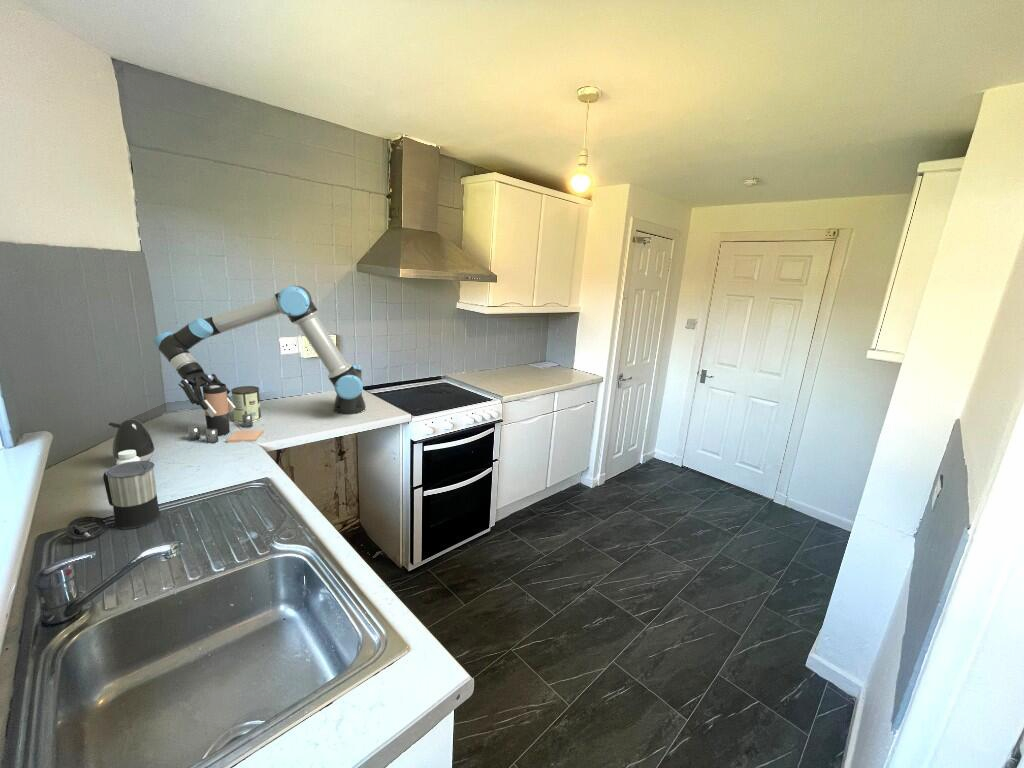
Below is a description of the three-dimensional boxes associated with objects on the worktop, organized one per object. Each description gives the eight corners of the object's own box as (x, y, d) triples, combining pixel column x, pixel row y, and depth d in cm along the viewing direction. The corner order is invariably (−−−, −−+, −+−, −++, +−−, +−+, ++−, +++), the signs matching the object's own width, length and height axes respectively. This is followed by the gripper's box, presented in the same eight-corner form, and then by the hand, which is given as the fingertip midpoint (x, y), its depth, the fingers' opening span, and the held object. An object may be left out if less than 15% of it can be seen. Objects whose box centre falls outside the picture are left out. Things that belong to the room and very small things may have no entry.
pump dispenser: (123, 457, 140) (116, 415, 136) (161, 455, 144) (155, 413, 140) (107, 470, 131) (99, 425, 127) (148, 467, 134) (141, 423, 131)
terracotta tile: (263, 432, 170) (263, 430, 169) (255, 441, 160) (255, 439, 160) (236, 433, 167) (235, 430, 167) (226, 442, 158) (226, 440, 157)
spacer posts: (254, 424, 177) (253, 413, 176) (236, 442, 158) (235, 430, 157) (207, 425, 172) (205, 414, 171) (183, 444, 153) (181, 431, 152)
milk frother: (170, 511, 112) (163, 461, 109) (116, 547, 97) (105, 490, 93) (118, 508, 112) (110, 457, 109) (55, 543, 97) (43, 486, 93)
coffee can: (245, 414, 188) (242, 385, 185) (266, 417, 187) (264, 387, 184) (228, 421, 178) (225, 390, 175) (250, 424, 177) (247, 392, 174)
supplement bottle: (148, 478, 128) (143, 449, 126) (130, 486, 123) (125, 456, 120) (133, 476, 129) (128, 447, 126) (114, 484, 123) (109, 454, 121)
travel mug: (224, 428, 170) (220, 382, 166) (234, 433, 167) (230, 385, 162) (203, 433, 164) (198, 385, 159) (213, 438, 160) (208, 388, 156)
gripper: (207, 368, 173) (241, 410, 173) (155, 377, 154) (193, 425, 154) (216, 357, 171) (250, 400, 171) (164, 365, 151) (203, 413, 151)
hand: (223, 412), depth 162 cm, fingers closed on travel mug, 7 cm apart
